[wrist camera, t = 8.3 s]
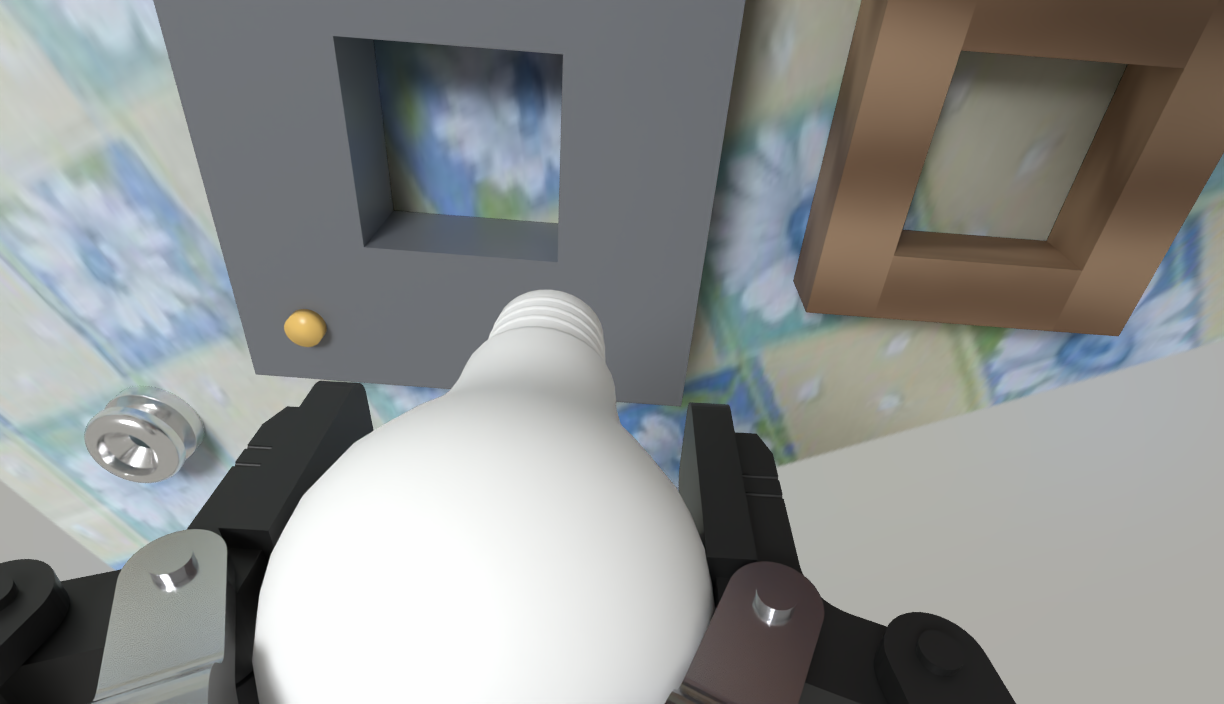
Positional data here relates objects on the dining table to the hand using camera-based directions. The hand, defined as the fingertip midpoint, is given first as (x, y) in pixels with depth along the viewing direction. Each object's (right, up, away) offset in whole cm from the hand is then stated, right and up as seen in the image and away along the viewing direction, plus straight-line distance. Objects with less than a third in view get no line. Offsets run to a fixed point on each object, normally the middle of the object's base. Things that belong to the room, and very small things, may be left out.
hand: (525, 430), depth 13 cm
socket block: (-4, +11, +16) cm, 20 cm away
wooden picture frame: (+18, +10, +16) cm, 26 cm away
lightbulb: (0, +2, +4) cm, 4 cm away
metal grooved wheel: (-24, -2, +26) cm, 36 cm away
